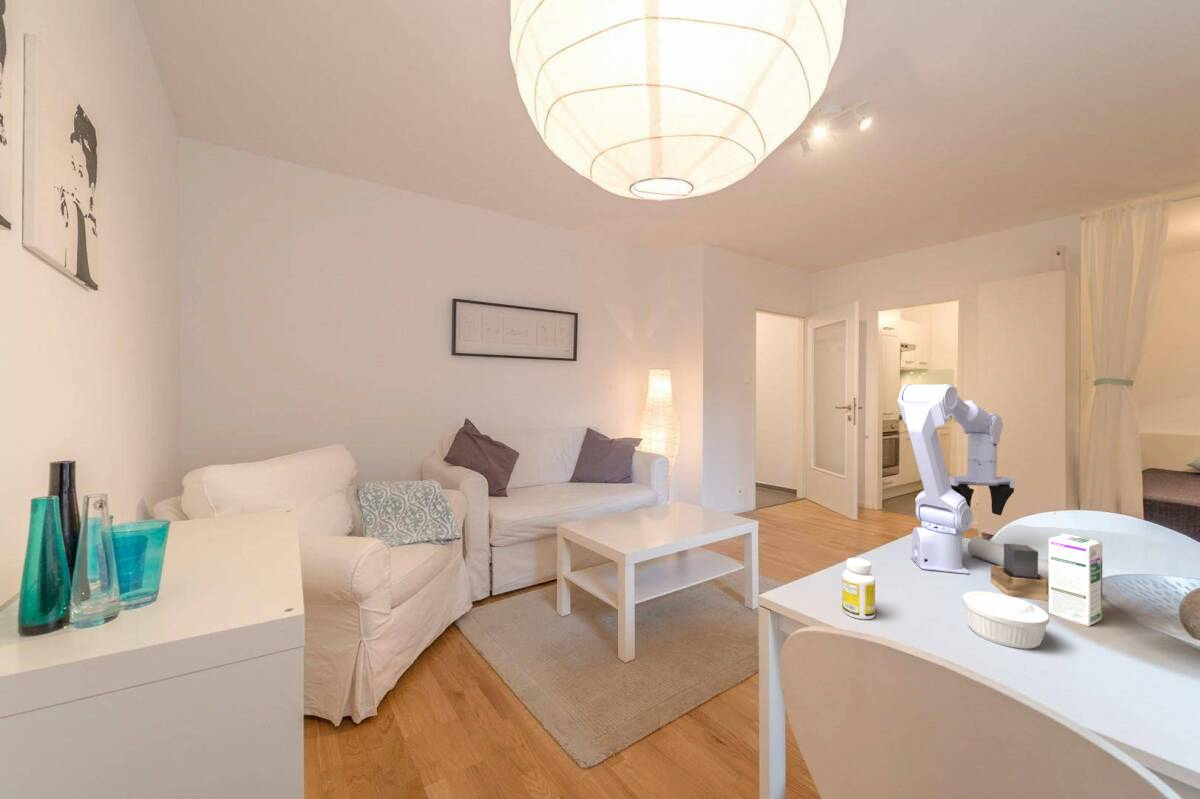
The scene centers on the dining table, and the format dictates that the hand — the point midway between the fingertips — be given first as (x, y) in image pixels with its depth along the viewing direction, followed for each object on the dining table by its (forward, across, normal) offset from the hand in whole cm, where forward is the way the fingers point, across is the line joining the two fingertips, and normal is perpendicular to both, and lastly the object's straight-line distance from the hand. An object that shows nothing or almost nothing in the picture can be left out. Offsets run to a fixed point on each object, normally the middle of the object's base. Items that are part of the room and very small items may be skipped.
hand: (980, 514), depth 119 cm
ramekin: (+11, -25, -40) cm, 48 cm away
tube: (+11, +1, -13) cm, 17 cm away
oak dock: (+10, -8, -22) cm, 25 cm away
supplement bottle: (+11, -46, -33) cm, 58 cm away
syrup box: (+11, -7, -32) cm, 35 cm away
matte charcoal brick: (+9, -8, -22) cm, 25 cm away
